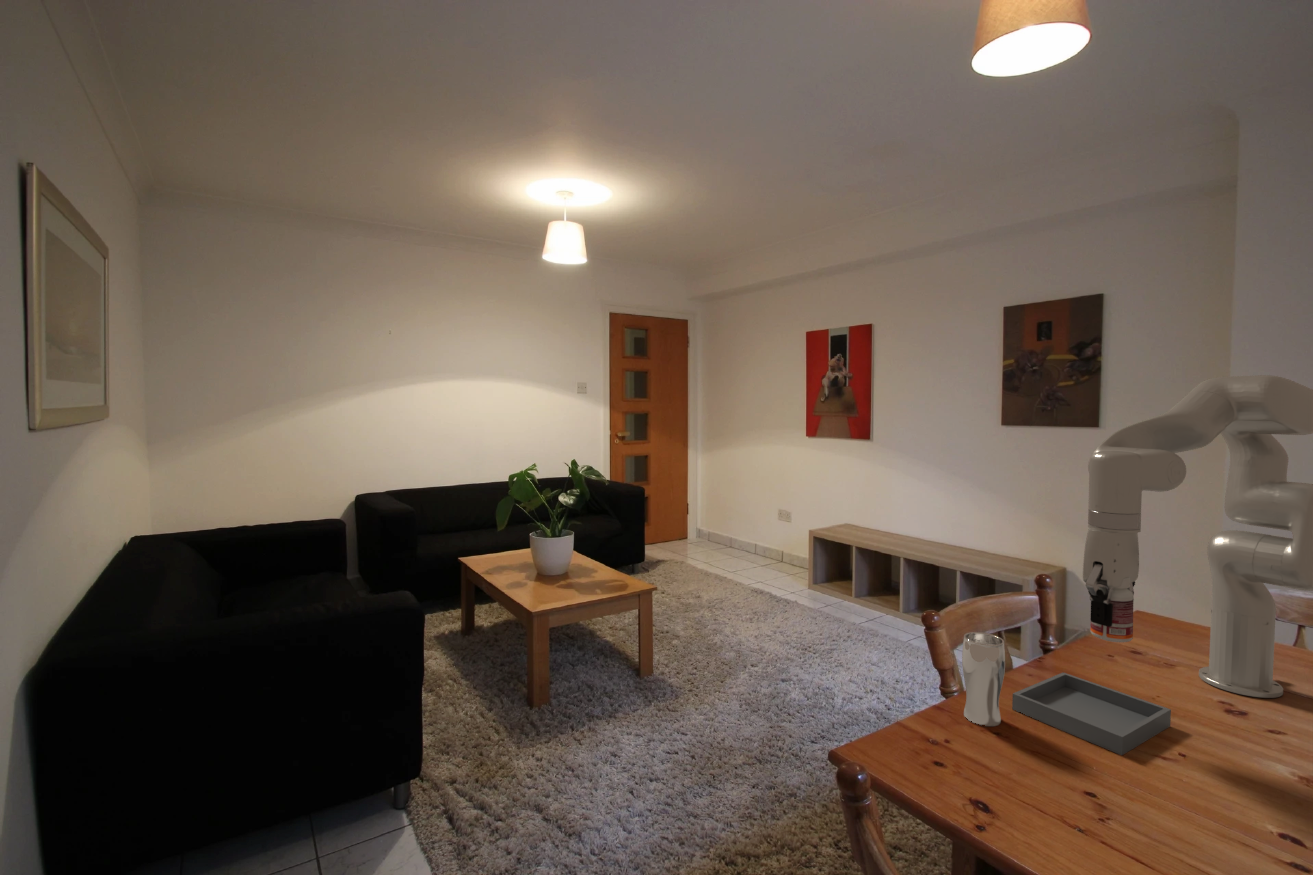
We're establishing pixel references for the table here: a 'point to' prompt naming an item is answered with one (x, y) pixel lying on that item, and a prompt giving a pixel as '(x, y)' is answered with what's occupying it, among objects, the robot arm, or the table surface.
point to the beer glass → (983, 677)
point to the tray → (1092, 712)
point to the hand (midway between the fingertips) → (1111, 619)
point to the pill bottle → (1118, 615)
